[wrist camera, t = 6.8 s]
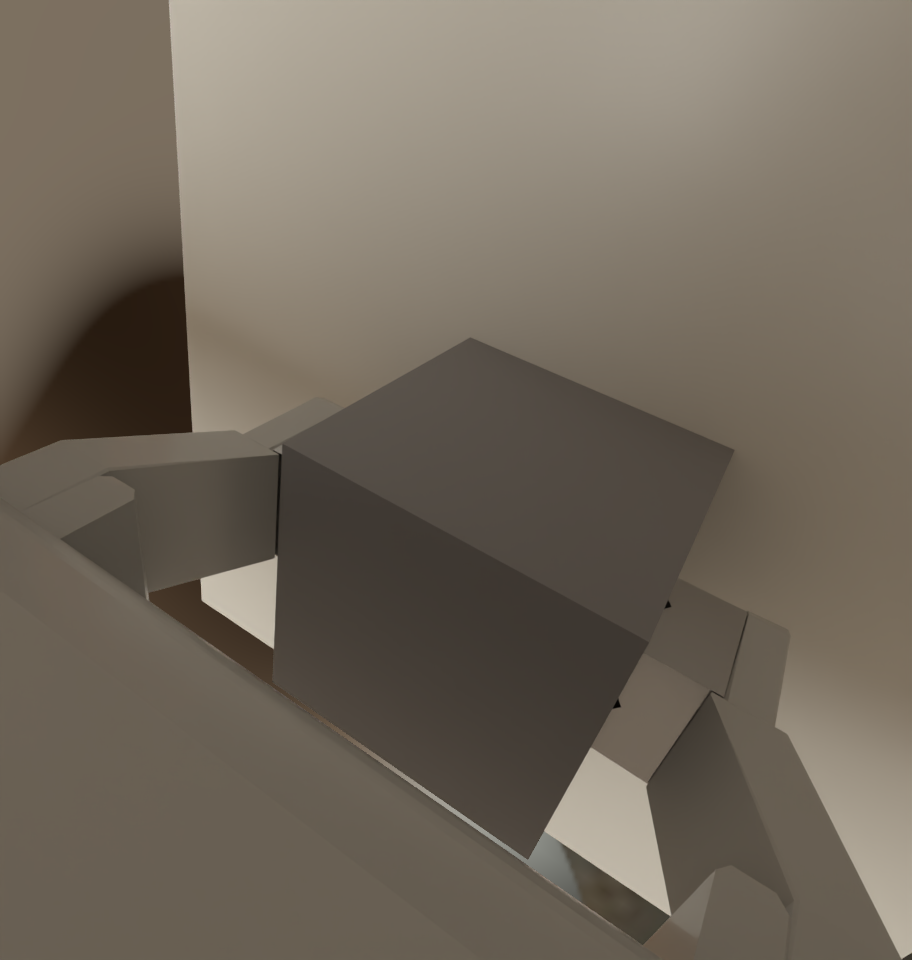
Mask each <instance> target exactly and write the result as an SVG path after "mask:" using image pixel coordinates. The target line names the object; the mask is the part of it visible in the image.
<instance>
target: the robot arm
mask: <svg viewBox="0 0 912 960" xmlns="http://www.w3.org/2000/svg"><path fill="white" fill-rule="evenodd" d="M342 409H344V408H343V407H341V406H339V405H337V404H335V403H333V402H331V401H329V400H327V399H325V398H318V397H315V398H313V399H311V400H309V401H307V402H305V403H303V404H301V405H300V406H298V407H296V408H294V409H292V410H290V411H288V412H286V413H284V414H282V415H280V416H278V417H276V418H274V419H272V420H270V421H268V422H266V423H264V424H262V425H260V426H258V427H256V428H254V429H252V430H250V431H248V432H246V433H244V434H241V433H239V432H237V431H235V430H228V431H211V432H194V433H179V434H178V433H177V434H162V435H145V436H127V437H110V438H93V439H76V440H61V441H58V442H56V443H54V444H51V445H49V446H46V447H44V448H41V449H39V450H36V451H34V452H31V453H29V454H27V455H24V456H22V457H19V458H17V459H14V460H12V461H9V462H7V463H5V464H3V465H0V960H902V959H901V957H900V955H899V953H898V951H897V950H896V948H895V946H894V944H893V942H892V940H891V938H890V936H889V934H888V932H887V930H886V928H885V926H884V924H883V922H882V920H881V918H880V916H879V914H878V912H877V910H876V908H875V906H874V904H873V902H872V900H871V898H870V896H869V894H868V892H867V890H866V888H865V886H864V884H863V882H862V880H861V878H860V876H859V874H858V872H857V870H856V868H855V866H854V864H853V862H852V860H851V858H850V857H849V855H848V853H847V851H846V849H845V847H844V845H843V843H842V841H841V839H840V837H839V835H838V833H837V831H836V829H835V827H834V825H833V823H832V821H831V819H830V817H829V815H828V813H827V811H826V809H825V807H824V805H823V803H822V801H821V799H820V797H819V795H818V793H817V791H816V789H815V787H814V785H813V783H812V781H811V779H810V777H809V775H808V773H807V771H806V769H805V767H804V766H803V764H802V762H801V760H800V758H799V756H798V754H797V752H796V750H795V748H794V746H793V744H792V742H791V740H790V738H789V736H788V734H786V733H785V732H783V731H781V730H779V729H778V728H776V727H775V723H776V717H777V712H778V706H779V700H780V695H781V689H782V683H783V678H784V672H785V666H786V661H787V655H788V649H789V644H790V638H791V635H790V633H789V630H788V629H786V628H784V627H782V626H780V625H777V624H775V623H773V622H771V621H769V620H767V619H765V618H762V617H760V616H758V615H756V614H754V613H752V612H750V611H744V610H742V609H740V608H738V607H736V606H734V605H732V604H730V603H728V602H726V601H724V600H722V599H720V598H718V597H716V596H714V595H712V594H710V593H708V592H706V591H704V590H702V589H700V588H698V587H696V586H694V585H692V584H690V583H688V582H686V581H684V580H682V579H680V578H678V579H677V581H676V583H675V586H674V588H673V590H672V592H671V595H670V597H669V599H668V601H667V604H666V606H665V608H664V610H663V613H662V615H661V617H660V619H659V622H658V624H657V626H656V628H655V631H654V633H653V635H652V637H651V640H650V642H649V644H648V646H647V647H646V649H645V651H644V653H643V654H642V656H641V658H640V660H639V662H638V663H637V665H636V667H635V669H634V671H633V672H632V674H631V676H630V678H629V680H628V681H627V683H626V685H625V687H624V689H623V690H622V692H621V694H620V696H619V697H618V699H617V701H616V703H615V705H614V706H613V708H612V710H611V712H610V714H609V715H608V717H607V719H606V721H605V723H604V724H603V726H602V728H601V730H600V732H599V733H598V735H597V737H596V739H595V740H594V742H593V744H592V746H591V748H593V749H594V750H596V751H598V752H599V753H601V754H602V755H604V756H605V757H607V758H608V759H610V760H611V761H613V762H615V763H616V764H618V765H619V766H621V767H622V768H624V769H625V770H627V771H628V772H630V773H632V774H633V775H635V776H636V777H638V778H639V779H641V780H642V781H644V782H645V783H647V786H646V789H647V795H648V800H649V805H650V810H651V815H652V820H653V825H654V830H655V835H656V840H657V845H658V851H659V856H660V861H661V866H662V871H663V876H664V881H665V886H666V891H667V896H668V901H669V907H670V912H671V917H670V918H669V919H668V920H667V921H666V922H665V923H664V924H663V925H662V926H661V927H660V928H659V929H658V930H657V931H656V932H655V933H654V934H653V935H652V937H651V938H650V939H649V940H648V941H647V942H646V943H645V944H644V945H641V944H640V943H638V942H637V941H636V940H634V939H633V938H631V937H630V936H628V935H627V934H626V933H624V932H623V931H621V930H620V929H618V928H617V927H616V926H614V925H613V924H611V923H610V922H608V921H607V920H605V919H604V918H603V917H601V916H600V915H598V914H597V913H595V912H594V911H593V910H591V909H590V908H588V907H587V906H585V905H584V904H582V903H581V902H580V901H578V900H577V899H575V898H574V897H572V896H571V895H570V894H568V893H567V892H565V891H564V890H562V889H561V888H560V887H558V886H557V885H555V884H554V883H552V882H551V881H549V880H548V879H547V878H545V877H544V876H542V875H541V874H539V873H538V872H536V871H535V870H534V869H532V868H531V867H529V866H528V865H526V864H525V863H524V862H522V861H521V860H519V859H518V858H516V857H515V856H514V855H512V854H510V853H509V852H508V851H506V850H505V849H503V848H502V847H501V846H499V845H498V844H496V843H495V842H493V841H492V840H490V839H489V838H488V837H486V836H485V835H483V834H482V833H480V832H479V831H478V830H476V829H475V828H473V827H472V826H470V825H469V824H467V823H466V822H464V821H463V820H462V819H460V818H459V817H457V816H456V815H455V814H453V813H452V812H450V811H449V810H447V809H446V808H445V807H443V806H442V805H440V804H439V803H437V802H436V801H434V800H433V799H431V798H430V797H429V796H427V795H426V794H424V793H423V792H421V791H420V790H419V789H417V788H416V787H414V786H413V785H411V784H410V783H409V782H407V781H406V780H404V779H403V778H401V777H400V776H399V775H397V774H396V773H394V772H393V771H391V770H390V769H389V768H387V767H385V766H384V765H383V764H381V763H380V762H378V761H377V760H376V759H374V758H373V757H371V756H370V755H368V754H367V753H366V752H364V751H363V750H361V749H360V748H358V747H357V746H355V745H354V744H353V743H351V742H350V741H348V740H347V739H345V738H344V737H343V736H341V735H340V734H338V733H337V732H335V731H334V730H332V729H331V728H330V727H328V726H326V725H325V724H324V723H322V722H321V721H319V720H318V719H317V718H315V717H314V716H312V715H311V714H310V713H308V712H307V711H305V710H304V709H302V708H301V707H300V706H298V705H297V704H295V703H294V702H293V701H291V700H290V699H288V698H287V697H285V696H284V695H283V694H281V693H280V692H278V691H277V690H275V689H274V688H273V687H271V686H270V685H268V684H267V683H265V682H264V681H263V680H261V679H260V678H258V677H257V676H255V675H254V674H252V673H251V672H250V671H248V670H247V669H245V668H244V667H243V666H241V665H239V664H238V663H237V662H235V661H234V660H232V659H231V658H230V657H228V656H226V655H225V654H224V653H223V652H221V651H220V650H218V649H217V648H215V647H214V646H213V645H211V644H210V643H208V642H207V641H205V640H204V639H203V638H201V637H200V636H198V635H197V634H195V633H194V632H193V631H191V630H190V629H188V628H187V627H185V626H184V625H183V624H181V623H180V622H178V621H177V620H175V619H174V618H172V617H171V616H170V615H168V614H167V613H165V612H164V611H162V610H161V609H160V608H158V607H157V606H155V605H154V604H152V603H151V602H150V601H149V596H148V593H149V592H153V591H156V590H160V589H164V588H167V587H171V586H175V585H178V584H182V583H186V582H189V581H193V580H197V579H201V578H204V577H208V576H212V575H215V574H219V573H223V572H226V571H230V570H234V569H237V568H241V567H245V566H249V565H252V564H256V563H260V562H263V561H267V560H271V559H274V558H275V555H276V556H277V557H278V534H279V510H280V486H281V461H282V443H284V442H285V441H287V440H289V439H291V438H293V437H294V436H296V435H298V434H300V433H301V432H303V431H305V430H307V429H309V428H310V427H312V426H314V425H316V424H317V423H319V422H321V421H323V420H325V419H326V418H328V417H330V416H332V415H333V414H335V413H337V412H339V411H341V410H342Z"/></svg>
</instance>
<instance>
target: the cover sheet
mask: <svg viewBox="0 0 912 960" xmlns="http://www.w3.org/2000/svg"><path fill="white" fill-rule="evenodd" d="M169 11H170V30H171V48H172V66H173V84H174V102H175V120H176V139H177V157H178V174H179V193H180V212H181V230H182V248H183V264H184V265H183V266H184V284H185V301H186V320H187V338H188V357H189V375H190V393H191V411H192V429H193V433H194V432H211V431H228V430H235V431H237V432H239V433H241V434H244V433H246V432H248V431H250V430H252V429H254V428H256V427H258V426H260V425H262V424H264V423H266V422H268V421H270V420H272V419H274V418H276V417H278V416H280V415H282V414H284V413H286V412H288V411H290V410H292V409H294V408H296V407H298V406H300V405H301V404H303V403H305V402H307V401H309V400H311V399H313V398H315V397H318V398H325V399H327V400H329V401H331V402H333V403H335V404H337V405H339V406H341V407H343V408H344V409H342V410H341V411H339V412H337V413H335V414H333V415H332V416H330V417H328V418H326V419H325V420H323V421H321V422H319V423H317V424H316V425H314V426H312V427H310V428H309V429H307V430H305V431H303V432H301V433H300V434H298V435H296V436H294V437H293V438H291V439H289V440H287V441H285V442H284V443H282V461H281V486H280V510H279V534H278V557H277V556H276V555H275V558H274V559H271V560H267V561H263V562H260V563H256V564H252V565H249V566H245V567H241V568H237V569H234V570H230V571H226V572H223V573H219V574H215V575H212V576H208V577H204V578H201V592H202V601H204V602H205V603H206V604H208V605H209V606H211V607H212V608H214V609H215V610H217V611H218V612H220V613H221V614H223V615H224V616H226V617H227V618H229V619H230V620H232V621H233V622H235V623H236V624H238V625H239V626H240V627H242V628H243V629H245V630H246V631H248V632H250V633H251V634H252V635H254V636H255V637H257V638H258V639H260V640H261V641H263V642H264V643H266V644H267V645H269V646H270V647H272V648H273V649H274V657H273V681H272V682H273V683H274V684H276V685H277V686H279V687H280V688H282V689H283V690H285V691H286V692H287V693H289V694H290V695H292V696H293V697H295V698H296V699H297V700H299V701H300V702H302V703H303V704H305V705H306V706H308V707H309V708H310V709H312V710H313V711H315V712H316V713H318V714H319V715H321V716H322V717H323V718H325V719H326V720H328V721H329V722H331V723H332V724H333V725H335V726H336V727H338V728H339V729H341V730H342V731H343V732H345V733H346V734H348V735H349V736H351V737H352V738H354V739H355V740H356V741H358V742H359V743H361V744H362V745H364V746H365V747H367V748H368V749H369V750H371V751H372V752H374V753H375V754H377V755H378V756H380V757H381V758H382V759H384V760H385V761H387V762H388V763H390V764H391V765H392V766H394V767H395V768H397V769H398V770H400V771H401V772H403V773H404V774H405V775H407V776H408V777H410V778H411V779H413V780H414V781H416V782H417V783H418V784H420V785H421V786H423V787H424V788H425V789H427V790H429V791H430V792H431V793H433V794H434V795H436V796H437V797H439V798H440V799H442V800H443V801H444V802H446V803H447V804H449V805H450V806H451V807H453V808H454V809H456V810H457V811H459V812H460V813H462V814H463V815H464V816H466V817H467V818H469V819H470V820H472V821H473V822H474V823H476V824H477V825H479V826H480V827H482V828H483V829H484V830H486V831H487V832H489V833H490V834H492V835H493V836H495V837H496V838H497V839H499V840H500V841H502V842H503V843H505V844H506V845H508V846H509V847H511V848H512V849H513V850H515V851H516V852H518V853H519V854H521V855H522V856H523V857H525V858H526V859H529V857H530V855H531V853H532V851H533V850H534V848H535V846H536V844H537V842H538V841H539V839H540V837H541V835H542V834H543V832H544V831H545V832H546V833H548V834H549V835H551V836H552V837H554V838H555V839H557V840H558V841H560V842H561V843H563V844H564V845H566V846H567V847H569V848H570V849H571V850H573V851H574V852H576V853H577V854H579V855H580V856H582V857H583V858H585V859H586V860H588V861H589V862H591V863H592V864H594V865H595V866H597V867H598V868H600V869H601V870H603V871H604V872H606V873H607V874H609V875H610V876H612V877H613V878H615V879H616V880H618V881H619V882H620V883H622V884H623V885H625V886H626V887H628V888H629V889H631V890H632V891H634V892H635V893H637V894H638V895H640V896H641V897H643V898H644V899H646V900H647V901H649V902H650V903H652V904H653V905H655V906H656V907H658V908H659V909H661V910H662V911H664V912H665V913H667V914H668V915H669V916H671V912H670V907H669V901H668V896H667V891H666V886H665V881H664V876H663V871H662V866H661V861H660V856H659V851H658V845H657V840H656V835H655V830H654V825H653V820H652V815H651V810H650V805H649V800H648V795H647V789H646V786H647V783H645V782H644V781H642V780H641V779H639V778H638V777H636V776H635V775H633V774H632V773H630V772H628V771H627V770H625V769H624V768H622V767H621V766H619V765H618V764H616V763H615V762H613V761H611V760H610V759H608V758H607V757H605V756H604V755H602V754H601V753H599V752H598V751H596V750H594V749H593V748H591V746H592V744H593V742H594V740H595V739H596V737H597V735H598V733H599V732H600V730H601V728H602V726H603V724H604V723H605V721H606V719H607V717H608V715H609V714H610V712H611V710H612V708H613V706H614V705H615V703H616V701H617V699H618V697H619V696H620V694H621V692H622V690H623V689H624V687H625V685H626V683H627V681H628V680H629V678H630V676H631V674H632V672H633V671H634V669H635V667H636V665H637V663H638V662H639V660H640V658H641V656H642V654H643V653H644V651H645V649H646V647H647V646H648V644H649V642H650V640H651V637H652V635H653V633H654V631H655V628H656V626H657V624H658V622H659V619H660V617H661V615H662V613H663V610H664V608H665V606H666V604H667V601H668V599H669V597H670V595H671V592H672V590H673V588H674V586H675V583H676V581H677V579H678V578H680V579H682V580H684V581H686V582H688V583H690V584H692V585H694V586H696V587H698V588H700V589H702V590H704V591H706V592H708V593H710V594H712V595H714V596H716V597H718V598H720V599H722V600H724V601H726V602H728V603H730V604H732V605H734V606H736V607H738V608H740V609H742V610H744V611H750V612H752V613H754V614H756V615H758V616H760V617H762V618H765V619H767V620H769V621H771V622H773V623H775V624H777V625H780V626H782V627H784V628H786V629H788V630H789V633H790V635H791V638H790V644H789V649H788V655H787V661H786V666H785V672H784V678H783V683H782V689H781V695H780V700H779V706H778V712H777V717H776V723H775V727H776V728H778V729H779V730H781V731H783V732H785V733H786V734H788V736H789V738H790V740H791V742H792V744H793V746H794V748H795V750H796V752H797V754H798V756H799V758H800V760H801V762H802V764H803V766H804V767H805V769H806V771H807V773H808V775H809V777H810V779H811V781H812V783H813V785H814V787H815V789H816V791H817V793H818V795H819V797H820V799H821V801H822V803H823V805H824V807H825V809H826V811H827V813H828V815H829V817H830V819H831V821H832V823H833V825H834V827H835V829H836V831H837V833H838V835H839V837H840V839H841V841H842V843H843V845H844V847H845V849H846V851H847V853H848V855H849V857H850V858H851V860H852V862H853V864H854V866H855V868H856V870H857V872H858V874H859V876H860V878H861V880H862V882H863V884H864V886H865V888H866V890H867V892H868V894H869V896H870V898H871V900H872V902H873V904H874V906H875V908H876V910H877V912H878V914H879V916H880V918H881V920H882V922H883V924H884V926H885V928H886V930H887V932H888V934H889V936H890V938H891V940H892V942H893V944H894V946H895V948H896V950H897V951H898V953H899V955H900V957H901V959H902V958H904V957H905V956H907V955H908V954H910V953H912V0H169Z"/></svg>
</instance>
